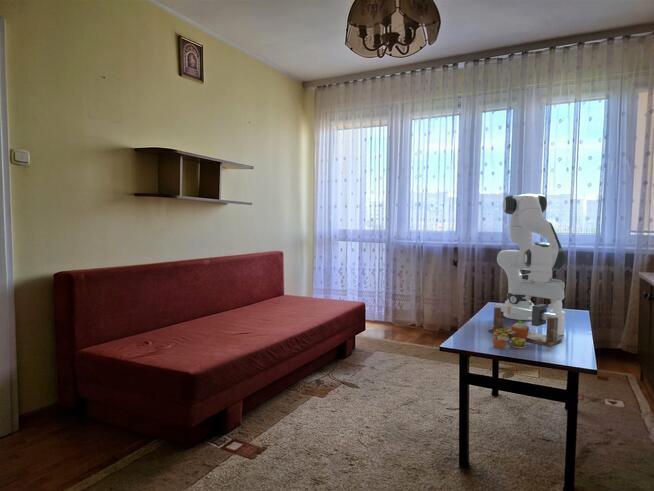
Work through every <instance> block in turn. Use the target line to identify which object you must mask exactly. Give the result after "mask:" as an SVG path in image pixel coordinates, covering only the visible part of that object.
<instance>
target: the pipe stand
mask: <svg viewBox="0 0 654 491" xmlns="http://www.w3.org/2000/svg"><path fill="white" fill-rule="evenodd" d="M504 312H507V313H508V314H511V313H512V314H517V315H522V316H527V317H532V310H531V309H525V308H520V307H514V306H513V305H511V306H508V305H505V304H502V303H496V304H495V307H493V326H492V327H490V328H488V329H487V332H488V333H492V334H494V332H495V331H496V329H500V328H502V329H505V330H507V331H508V332H507V335H508V336H509V338H511V339H512V338H513V335H512V326H510V327H509V326H505V325H504V317H505V316H504ZM539 319H543V320H546V334H541V333H538V332H537V333H536V332H533V331H529V332H528V336H527V341H526V342H529V343H533V344H538V345H540V346H541V345H542V346H545V347H549V348H550V347H553V346H556V345H558V344H561V343H562V342H563V339H562V338H560V337H558V335H557V329H558V317H557V314H553V313H549V312H548V311H547V312H542V311H540V317H539ZM493 331H494V332H493Z"/></svg>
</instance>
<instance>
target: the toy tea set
mask: <svg viewBox="0 0 654 491" xmlns="http://www.w3.org/2000/svg"><path fill="white" fill-rule="evenodd" d="M511 328H512V335H513V338H512V337H511V340H510V337H509V336H508V335H507V332H508V331H507V330H505V329H502V328H500V329H496V331H495V332H494V331H493V332H494V333H492V334H493V335H492V336H493V337H492V342H493V347H494V349H495V348H496V349H500V350H502V349H506V346H507V345H506V344H507V341H508V342H509V346H510V347H511V348H514V349H526V348H527V345H526V342H528V341H527V336H528V332H530V328H529V327H528V326H527V325H526V324H525V323H523V320H518V322H516V323H514V324H512V325H511Z"/></svg>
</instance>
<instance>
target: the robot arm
mask: <svg viewBox="0 0 654 491" xmlns="http://www.w3.org/2000/svg"><path fill="white" fill-rule="evenodd" d="M547 206H548V201H547V197H546V196H545V195H544V194H540V193H538V194H534V193H525V194H516V195H513V194H511V195H507V196H506V197H504V199H503V201H502V209H503V211H504V213H505V214H508V215H511V218H510V225H509V227H510V229H509V233H510V234H509V239H510V241H511V242H513V244H515V245H517V246H518V247H519V249H504V250H501V251H499V252H498V253H497V256H496V262H497V264H498V265H499V267H501V268H502V269H503V270H504V272H505V274H506V276H507V277H506V278H507V283H508V284H507V285H508V286H507V287H508V288H507V290H508V292H506V299H507V300H505V302H504V305H508V306H511V305H513V306H514V307H520V308H525V309H531V310H532V306H535V305H536V304H534V303H533V301H531V299H532V298H533V297H534V298H535V297H536V298H541V299H550V300H549V301H550V303H549V304H547V309H550V310H552V309H553V304H554V303H555V302H556V300H562V301H563V300H564V299H565V281H564V280H562V279H556V278H553V270H554V271H560V270H561V269H563V268H564V267H565V266H567V264H568V263H567V262H568V257H567V254H566V252H565V250H564V249H563V247H562V245H561V241H560V240H559V238H558V233H557V232H556V230H555V227H554V226H553V223H552V222H550V221H548V220H547V219H546V218H545V216H544V214H543V213H544V212H545V211H546V210H547ZM532 233H535V234H538V235H540V236H542V237H543V238H545V240H546V242H543V241H537V242H533V234H532ZM522 270H524V271H530V272H528V273H525V274H522V272H521V271H522ZM504 317H505V318H507V319H510V320H518V321H532V317H527V316H522V315H517V314H512V313H511V314H508V313H507V312H504Z"/></svg>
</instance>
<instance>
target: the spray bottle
mask: <svg viewBox="0 0 654 491" xmlns="http://www.w3.org/2000/svg"><path fill="white" fill-rule="evenodd" d="M562 301H563V300H556V302H555V303H554V304H553V308H552V309H550V310H549V312H548V313H553V314H557V317H558V329H557V336H564V335H565V325H566V312H565V311H564V310H563V302H562Z"/></svg>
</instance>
